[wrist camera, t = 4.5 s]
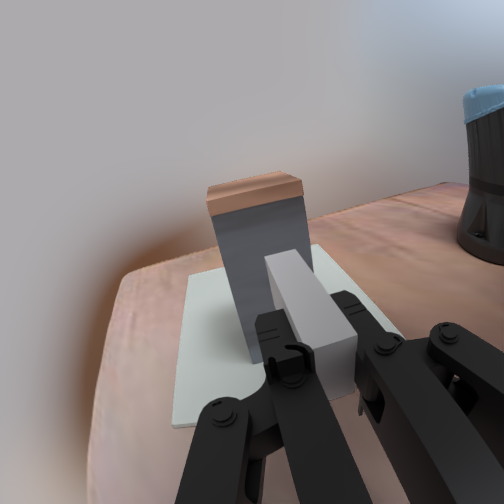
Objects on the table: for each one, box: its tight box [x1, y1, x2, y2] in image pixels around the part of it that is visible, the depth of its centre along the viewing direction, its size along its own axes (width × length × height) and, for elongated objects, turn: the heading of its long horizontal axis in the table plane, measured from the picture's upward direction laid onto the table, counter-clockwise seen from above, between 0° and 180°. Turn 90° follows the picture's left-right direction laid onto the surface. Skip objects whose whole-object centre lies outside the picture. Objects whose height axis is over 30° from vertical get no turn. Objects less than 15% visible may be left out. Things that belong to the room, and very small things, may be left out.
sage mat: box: [172, 244, 406, 428], centre depth 30 cm, size 26×20×1 cm
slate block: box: [206, 171, 314, 365], centre depth 22 cm, size 6×6×14 cm
